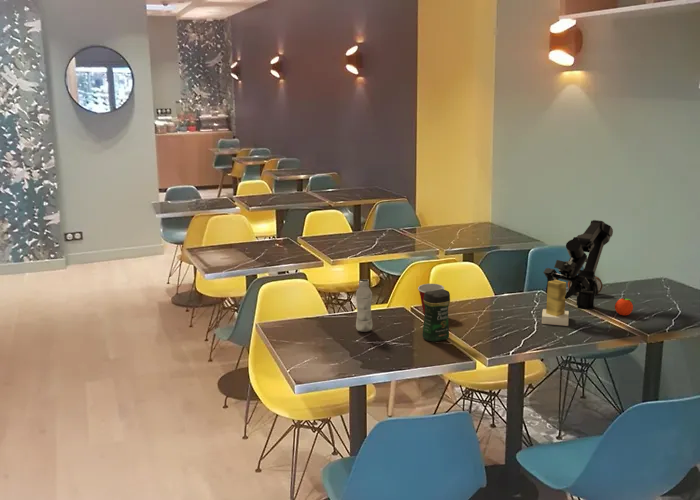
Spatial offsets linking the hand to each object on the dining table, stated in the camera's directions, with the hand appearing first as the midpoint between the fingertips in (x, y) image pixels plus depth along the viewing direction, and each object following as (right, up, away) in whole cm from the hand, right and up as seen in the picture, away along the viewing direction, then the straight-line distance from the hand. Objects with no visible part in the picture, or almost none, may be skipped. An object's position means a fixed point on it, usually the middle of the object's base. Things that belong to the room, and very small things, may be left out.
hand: (555, 295), depth 281 cm
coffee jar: (-49, -15, -16) cm, 54 cm away
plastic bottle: (-76, -13, -8) cm, 77 cm away
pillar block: (0, -7, +2) cm, 7 cm away
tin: (+24, -2, +39) cm, 46 cm away
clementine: (+31, -9, +9) cm, 33 cm away
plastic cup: (-48, -9, +11) cm, 50 cm away
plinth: (0, -10, +2) cm, 10 cm away
